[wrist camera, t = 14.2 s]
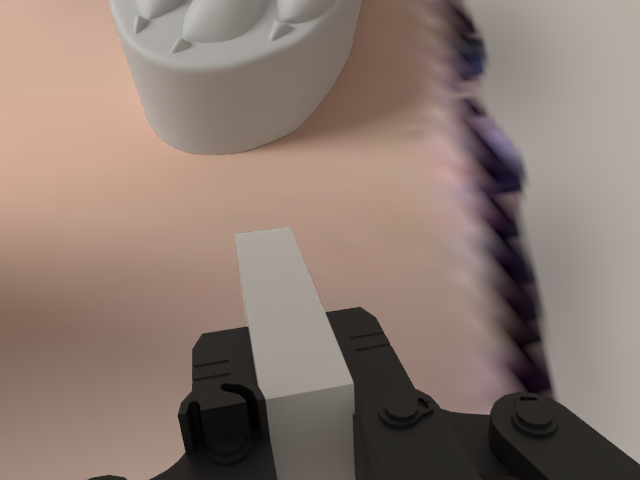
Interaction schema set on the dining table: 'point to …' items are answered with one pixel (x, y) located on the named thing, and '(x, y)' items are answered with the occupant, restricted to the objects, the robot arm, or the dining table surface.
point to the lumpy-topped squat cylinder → (233, 66)
